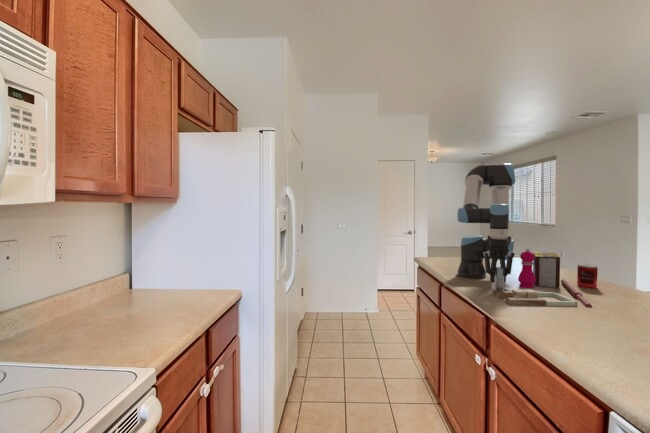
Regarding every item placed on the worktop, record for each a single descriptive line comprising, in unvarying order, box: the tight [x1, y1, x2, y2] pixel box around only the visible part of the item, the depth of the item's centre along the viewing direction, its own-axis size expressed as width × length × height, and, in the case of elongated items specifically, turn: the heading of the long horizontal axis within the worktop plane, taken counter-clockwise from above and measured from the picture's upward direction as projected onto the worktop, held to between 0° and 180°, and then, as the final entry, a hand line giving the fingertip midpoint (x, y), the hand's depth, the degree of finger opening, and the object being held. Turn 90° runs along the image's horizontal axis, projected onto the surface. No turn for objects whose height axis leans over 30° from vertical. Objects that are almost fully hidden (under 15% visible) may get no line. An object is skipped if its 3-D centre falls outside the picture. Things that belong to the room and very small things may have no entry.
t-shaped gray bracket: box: [492, 266, 512, 294], centre depth 144 cm, size 6×7×13 cm
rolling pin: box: [560, 279, 593, 308], centre depth 145 cm, size 45×3×3 cm, turn 153°
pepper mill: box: [517, 248, 536, 289], centre depth 155 cm, size 7×7×20 cm
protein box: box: [532, 251, 561, 289], centre depth 164 cm, size 10×15×16 cm
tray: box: [537, 291, 578, 307], centre depth 133 cm, size 14×12×3 cm
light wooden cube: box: [522, 288, 539, 298], centre depth 133 cm, size 4×4×4 cm
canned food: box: [576, 263, 599, 290], centre depth 158 cm, size 8×8×11 cm
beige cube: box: [511, 288, 527, 298], centre depth 134 cm, size 4×4×4 cm
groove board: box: [494, 291, 547, 307], centre depth 134 cm, size 14×14×3 cm
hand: (497, 289), depth 144 cm, fingers closed on t-shaped gray bracket, 3 cm apart
